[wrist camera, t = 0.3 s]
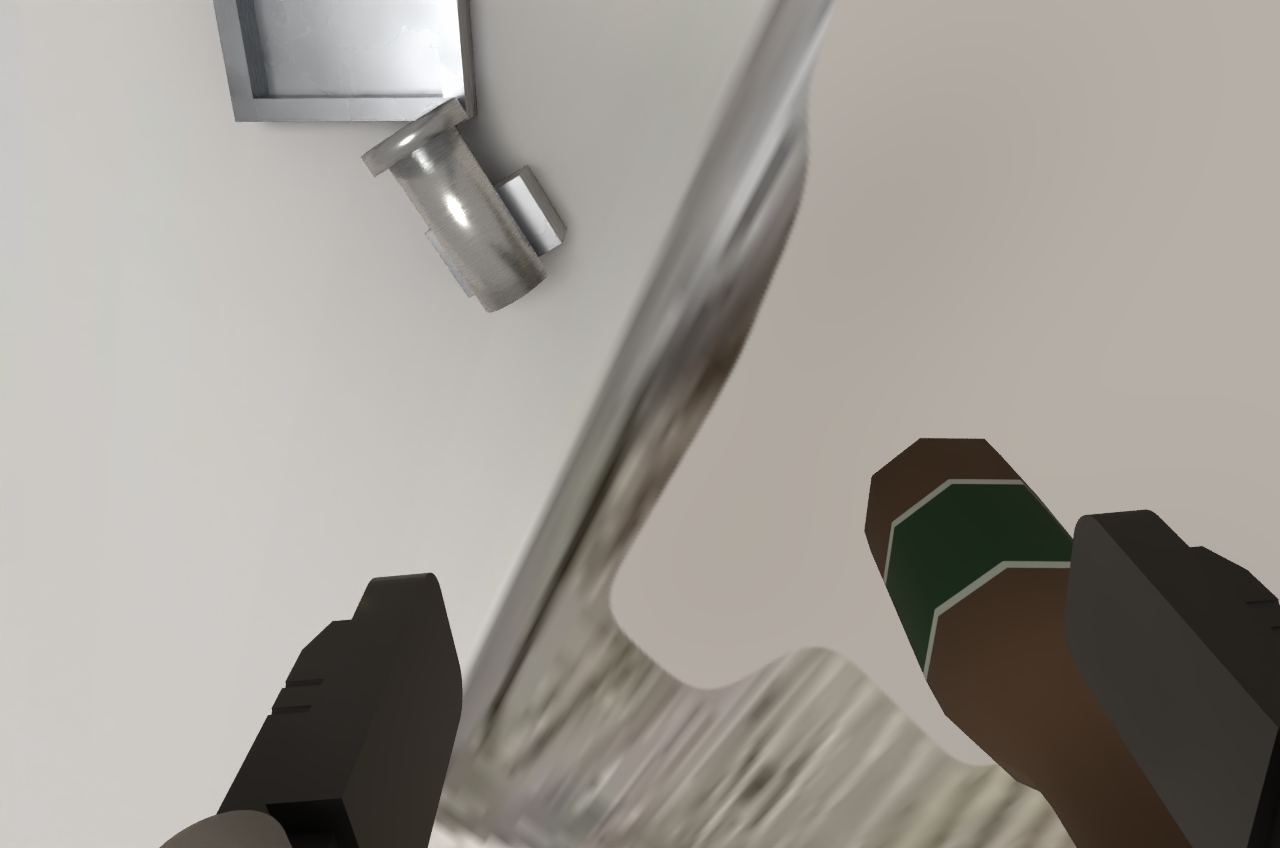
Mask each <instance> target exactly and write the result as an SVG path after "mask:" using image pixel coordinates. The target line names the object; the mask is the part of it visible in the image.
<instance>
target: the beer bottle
mask: <svg viewBox="0 0 1280 848" xmlns="http://www.w3.org/2000/svg"><path fill="white" fill-rule="evenodd" d="M865 534H866V537H867V540H868V544H869V547H870V550H871V553H872V555H873V557H874V560H875V562H876V564H877V567H878V569H879V571H880V574H881V576H882V578H883V581H884V583H885V585H886V588H887V590H888V592H889V595H890V597H891V599H892V602H893V604H894V607H895V609H896V611H897V614H898V616H899V618H900V621H901V623H902V625H903V628H904V630H905V632H906V635H907V637H908V639H909V642H910V644H911V646H912V649H913V651H914V653H915V656H916V658H917V660H918V663H919V665H920V667H921V670H922V672H923V674H924V677H925V679H926V681H927V683H928V685H929V687H930V689H931V690H932V692H933V694H934V696H935V698H936V699H937V701H938V703H939V704H940V707H941V708H942V710H943V712H944V714H945V715H946V716H947V717H948V718H949V719H950V720H951V721H952V722H953V723H954V724H956V725H957V726H958V727H959V728H960V729H961V730H962V731H963V732H964V733H965V734H966V735H967V736H969V738H970V739H972V740H973V741H974V742H975V743H976V744H977V745H978V746H979V747H980V748H981V749H982V750H983V751H984V752H986V753H987V754H988V755H989V756H990V757H991V758H992V759H993V760H994V761H995V762H996V763H998V764H999V765H1000V766H1001V767H1002V768H1003V769H1004V770H1005V771H1006V772H1007V773H1008V774H1010V775H1011V776H1012V777H1013V778H1014V779H1015V780H1016V781H1018V782H1020V783H1022V784H1024V785H1026V786H1029V787H1031V788H1033V789H1035V790H1038V791H1040V792H1041V793H1042V795H1043V796H1044V797H1045V798H1046V800H1047V801H1048V802H1049V804H1050V805H1051V806H1052V807H1053V809H1054V811H1055V812H1056V814H1057V816H1058V817H1059V819H1060V821H1061V822H1062V824H1063V826H1064V827H1065V829H1066V831H1067V832H1068V834H1069V836H1070V837H1071V839H1072V840H1073V842H1074V844H1075V845H1076V847H1077V848H1193V847H1192V846H1191V844H1190V843H1189V841H1188V840H1187V838H1186V837H1185V835H1184V834H1183V832H1182V831H1181V829H1180V828H1179V826H1178V824H1177V823H1176V821H1175V820H1174V818H1173V817H1172V815H1171V814H1170V812H1169V811H1168V809H1167V808H1166V806H1165V804H1164V803H1163V801H1162V800H1161V798H1160V797H1159V795H1158V794H1157V792H1156V791H1155V789H1154V788H1153V786H1152V785H1151V783H1150V781H1149V780H1148V778H1147V777H1146V775H1145V774H1144V772H1143V771H1142V769H1141V768H1140V766H1139V765H1138V763H1137V761H1136V760H1135V758H1134V757H1133V755H1132V754H1131V752H1130V751H1129V749H1128V748H1127V746H1126V745H1125V743H1124V742H1123V740H1122V738H1121V737H1120V735H1119V734H1118V732H1117V731H1116V729H1115V728H1114V726H1113V725H1112V723H1111V722H1110V720H1109V718H1108V717H1107V715H1106V714H1105V712H1104V711H1103V709H1102V708H1101V706H1100V705H1099V703H1098V702H1097V700H1096V699H1095V697H1094V695H1093V694H1092V692H1091V691H1090V689H1089V688H1088V686H1087V685H1086V683H1085V682H1084V680H1083V679H1082V677H1081V675H1080V674H1079V672H1078V671H1077V669H1076V667H1075V665H1074V663H1073V661H1072V659H1071V656H1070V653H1069V650H1068V647H1067V642H1066V637H1065V630H1064V614H1065V605H1066V597H1067V588H1068V580H1069V571H1070V563H1071V554H1072V546H1073V539H1072V537H1071V536H1070V535H1069V534H1068V532H1067V531H1066V530H1065V529H1064V528H1063V526H1062V525H1061V524H1060V523H1059V522H1058V520H1057V519H1056V518H1055V517H1054V516H1053V514H1052V513H1051V512H1050V511H1049V509H1048V508H1047V507H1046V506H1045V504H1044V503H1043V502H1042V501H1041V500H1040V498H1039V497H1038V496H1037V495H1036V494H1035V493H1034V492H1033V491H1032V490H1031V488H1030V487H1029V486H1028V485H1027V484H1026V483H1025V482H1024V481H1023V480H1022V478H1021V477H1020V476H1019V475H1018V474H1017V473H1016V472H1015V471H1014V470H1013V469H1012V467H1011V466H1010V465H1009V464H1008V463H1007V462H1006V461H1005V460H1004V459H1003V457H1002V456H1001V455H999V453H998V452H997V451H996V450H995V449H994V448H993V447H992V446H991V445H990V444H989V443H988V442H987V441H986V440H985V439H946V438H943V439H942V438H938V439H937V438H936V439H935V438H920V439H918V440H917V441H916V442H915V443H913V444H912V445H911V446H910V447H908V448H907V449H906V450H904V451H903V452H902V453H901V454H899V455H898V456H897V457H895V458H894V459H893V460H892V461H891V462H889V463H888V464H887V465H885V466H884V467H883V468H881V469H880V470H879V471H878V472H876V473H875V474H874V475H873V476H872V478H871V486H870V493H869V500H868V508H867V516H866V523H865Z"/></svg>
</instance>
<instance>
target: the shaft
mask: <svg viewBox="0 0 1280 848" xmlns="http://www.w3.org/2000/svg"><path fill="white" fill-rule="evenodd" d="M466 118H468V115H467V114H466V112H465V111H464V109H463V108H462V106H461V104H460V103H459V101H458V100H457V98H456V96H455V97H453V98H451V99H449V100H447V101H446V102H444V103H442V104H441V105H439V106H437V107H436V108H434V109H432V110H431V111H429V112H428V113H426V114H424V115H423V116H421V117H420V118H418V119H416V120H415V121H413V122H412V123H410V124H409V125H407V126H405V127H404V128H402V129H401V130H399V131H398V132H396V133H395V134H393V135H392V136H390V137H389V138H387V139H386V140H384V141H383V142H381V143H380V144H378V145H377V146H375V147H374V148H372V149H371V150H369V151H368V152H366V153H365V154H364V155H362V156H361V158H362V160H363V161H364V163H365V164H366V166H367V167H368V168H369V170H370V171H371V173H372V174H373V176H374V177H376V176H377V175H379V174H380V173H382V172H384V171H385V170H387V169H388V168H389V169H390V171H391V172H392V174H393V175H394V177H395V178H396V180H397V181H398V183H399V184H400V185H401V187H402V188H403V190H404V191H405V193H406V194H407V196H408V197H409V199H410V200H411V202H412V203H413V204H414V206H415V207H416V209H417V210H418V212H419V213H420V215H421V216H422V218H423V219H424V221H425V222H426V224H427V225H428V226H429V228H430V229H429V230H428V231H427V232H426V233H425V235H426V236H427V238H428V239H429V241H430V242H431V243H432V245H433V246H434V248H435V249H436V251H437V252H438V254H439V255H440V257H441V258H442V259H443V261H444V262H445V264H446V265H447V267H448V268H449V270H450V271H451V273H452V274H453V276H454V277H455V278H456V280H457V281H458V283H459V284H460V286H461V287H462V289H463V290H464V292H465V293H466V294H467V296H468V297H469V298H470V297H472V296H473V295H476V297H477V298H478V300H479V301H480V303H481V304H482V306H483V307H484V309H485V310H486V311H487V312H488V313H490V312H494V311H497V310H499V309H501V308H503V307H505V306H507V305H509V304H511V303H513V302H514V301H516V300H518V299H519V298H521V297H522V296H524V295H525V294H527V293H528V292H529V291H531V290H532V289H533V288H535V287H536V286H537V285H538V284H539V283H541V282H542V281H543V280H544V279H545V278H546V276H547V275H548V271H547V270H546V268H545V267H544V265H543V264H542V262H541V261H540V259H539V256H541V255H543V254H544V253H546V252H548V251H549V250H551V249H553V248H555V247H556V246H558V245H560V244H561V243H562V241H563V238H564V235H565V232H566V229H567V228H566V227H565V225H564V224H563V222H562V220H561V219H560V217H559V215H558V214H557V212H556V211H555V209H554V207H553V206H552V204H551V203H550V201H549V199H548V198H547V196H546V194H545V193H544V191H543V190H542V188H541V186H540V185H539V183H538V182H537V180H536V178H535V177H534V175H533V173H532V172H531V170H530V169H529V167H528V165H526V166H524V167H523V168H521V169H519V170H518V171H516V172H514V173H513V174H511V175H510V176H508V177H506V178H505V179H503V180H502V181H500V182H498V183H497V184H495V185H493V186H492V184H491V182H490V181H489V179H488V178H487V176H486V175H485V173H484V171H483V170H482V168H481V167H480V165H479V164H478V162H477V160H476V159H475V157H474V156H473V154H472V153H471V151H470V150H469V148H468V146H467V145H466V143H465V142H464V140H463V139H462V137H461V135H460V134H459V132H458V131H457V129H456V128H455V125H457V124H458V123H460V122H461V121H463V120H464V119H466Z"/></svg>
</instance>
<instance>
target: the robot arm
mask: <svg viewBox="0 0 1280 848" xmlns="http://www.w3.org/2000/svg"><path fill="white" fill-rule="evenodd" d="M1064 630H1065V637H1066V642H1067V647H1068V650H1069V653H1070V656H1071V659H1072V661H1073V663H1074V665H1075V667H1076V669H1077V671H1078V672H1079V674H1080V675H1081V677H1082V679H1083V680H1084V682H1085V683H1086V685H1087V686H1088V688H1089V689H1090V691H1091V692H1092V694H1093V695H1094V697H1095V699H1096V700H1097V702H1098V703H1099V705H1100V706H1101V708H1102V709H1103V711H1104V712H1105V714H1106V715H1107V717H1108V718H1109V720H1110V722H1111V723H1112V725H1113V726H1114V728H1115V729H1116V731H1117V732H1118V734H1119V735H1120V737H1121V738H1122V740H1123V742H1124V743H1125V745H1126V746H1127V748H1128V749H1129V751H1130V752H1131V754H1132V755H1133V757H1134V758H1135V760H1136V761H1137V763H1138V765H1139V766H1140V768H1141V769H1142V771H1143V772H1144V774H1145V775H1146V777H1147V778H1148V780H1149V781H1150V783H1151V785H1152V786H1153V788H1154V789H1155V791H1156V792H1157V794H1158V795H1159V797H1160V798H1161V800H1162V801H1163V803H1164V804H1165V806H1166V808H1167V809H1168V811H1169V812H1170V814H1171V815H1172V817H1173V818H1174V820H1175V821H1176V823H1177V824H1178V826H1179V828H1180V829H1181V831H1182V832H1183V834H1184V835H1185V837H1186V838H1187V840H1188V841H1189V843H1190V844H1191V846H1192V847H1193V848H1280V605H1279V602H1278V599H1277V598H1276V597H1275V596H1274V595H1273V594H1272V593H1271V592H1270V591H1269V590H1268V589H1267V588H1266V587H1265V586H1264V585H1263V584H1262V583H1261V582H1260V581H1258V580H1257V579H1256V578H1255V577H1254V576H1253V575H1252V574H1251V573H1250V572H1249V571H1248V570H1246V569H1244V568H1243V567H1241V566H1239V565H1237V564H1235V563H1233V562H1231V561H1229V560H1227V559H1226V558H1223V557H1222V556H1220V555H1218V554H1216V553H1214V552H1212V551H1210V550H1208V549H1207V548H1205V547H1203V546H1200V547H1189V546H1188V545H1187V544H1186V543H1185V542H1184V541H1183V540H1182V539H1181V538H1180V537H1179V536H1178V535H1177V534H1176V533H1175V532H1174V531H1173V530H1172V529H1171V528H1170V527H1169V526H1168V525H1167V524H1166V523H1165V522H1164V521H1163V520H1162V519H1161V518H1160V517H1159V516H1158V515H1156V514H1155V513H1154V512H1152V511H1150V510H1137V511H1126V512H1115V513H1103V514H1094V515H1093V514H1092V515H1084V516H1082V517H1081V518H1080V519H1079V520H1078V522H1077V524H1076V527H1075V531H1074V538H1073V546H1072V554H1071V563H1070V571H1069V580H1068V588H1067V597H1066V605H1065V614H1064ZM461 710H462V677H461V670H460V665H459V661H458V657H457V653H456V649H455V645H454V641H453V637H452V633H451V629H450V625H449V621H448V617H447V613H446V609H445V605H444V601H443V597H442V593H441V589H440V585H439V582H438V580H437V578H436V576H435V575H434V574H433V573H422V574H411V575H400V576H389V577H378V578H373V579H372V580H371V581H370V582H369V584H368V586H367V588H366V590H365V592H364V594H363V596H362V599H361V601H360V603H359V605H358V607H357V609H356V611H355V614H354V616H353V618H352V620H342V621H332V622H331V623H330V624H329V625H328V626H327V627H326V628H325V629H324V630H323V631H322V632H321V633H320V634H319V635H318V636H316V637H315V638H314V639H313V640H312V641H311V642H310V643H309V644H308V645H307V646H306V647H305V648H304V649H303V650H302V651H301V653H300V655H299V657H298V659H297V661H296V663H295V665H294V667H293V668H292V670H291V672H290V674H289V676H288V678H287V680H286V688H282V690H281V691H280V693H279V695H278V697H277V699H276V701H275V703H274V705H273V707H272V715H268V716H267V718H266V720H265V722H264V724H263V726H262V728H261V730H260V732H259V734H258V735H257V737H256V739H255V741H254V743H253V745H252V747H251V749H250V751H249V753H248V755H247V757H246V758H245V760H244V762H243V764H242V766H241V768H240V770H239V772H238V774H237V776H236V778H235V780H234V781H233V783H232V785H231V787H230V789H229V791H228V793H227V795H226V797H225V799H224V801H223V802H222V804H221V806H220V808H219V810H218V812H217V814H216V815H214V816H211V817H208V818H206V819H203V820H201V821H199V822H197V823H195V824H193V825H191V826H189V827H187V828H186V829H184V830H182V831H181V832H179V833H178V834H176V835H175V836H173V837H172V838H171V839H169V840H168V841H167V842H165V843H164V844H163V845H162V846H161V847H160V848H428V844H429V840H430V836H431V832H432V828H433V824H434V820H435V816H436V812H437V808H438V804H439V800H440V796H441V792H442V788H443V784H444V780H445V776H446V772H447V768H448V764H449V760H450V757H451V753H452V749H453V745H454V741H455V737H456V733H457V729H458V725H459V721H460V716H461Z"/></svg>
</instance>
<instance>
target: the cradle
mask: <svg viewBox="0 0 1280 848" xmlns="http://www.w3.org/2000/svg"><path fill="white" fill-rule="evenodd" d="M213 3H214V9H215V14H216V19H217V25H218V30H219V36H220V41H221V46H222V52H223V57H224V62H225V68H226V73H227V79H228V84H229V89H230V95H231V100H232V105H233V111H234V116H235V121H236V122H276V121H415V120H416V119H418V118H420V117H421V116H423V115H424V114H426V113H428V112H429V111H431V110H432V109H434V108H436V107H437V106H439V105H441V104H442V103H444V102H446V101H447V100H449V99H451V98H453V97H455V96H456V98H457V100H458V101H459V103H460V104H461V106H462V108H463V109H464V111H465V112H466V114H467V115H468V118H466V119H464V120H463V121H467V120H469V119H470V118H472V117H473V116H475V115H476V114H477V102H476V89H475V76H474V63H473V50H472V37H471V24H470V11H469V0H213Z"/></svg>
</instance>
